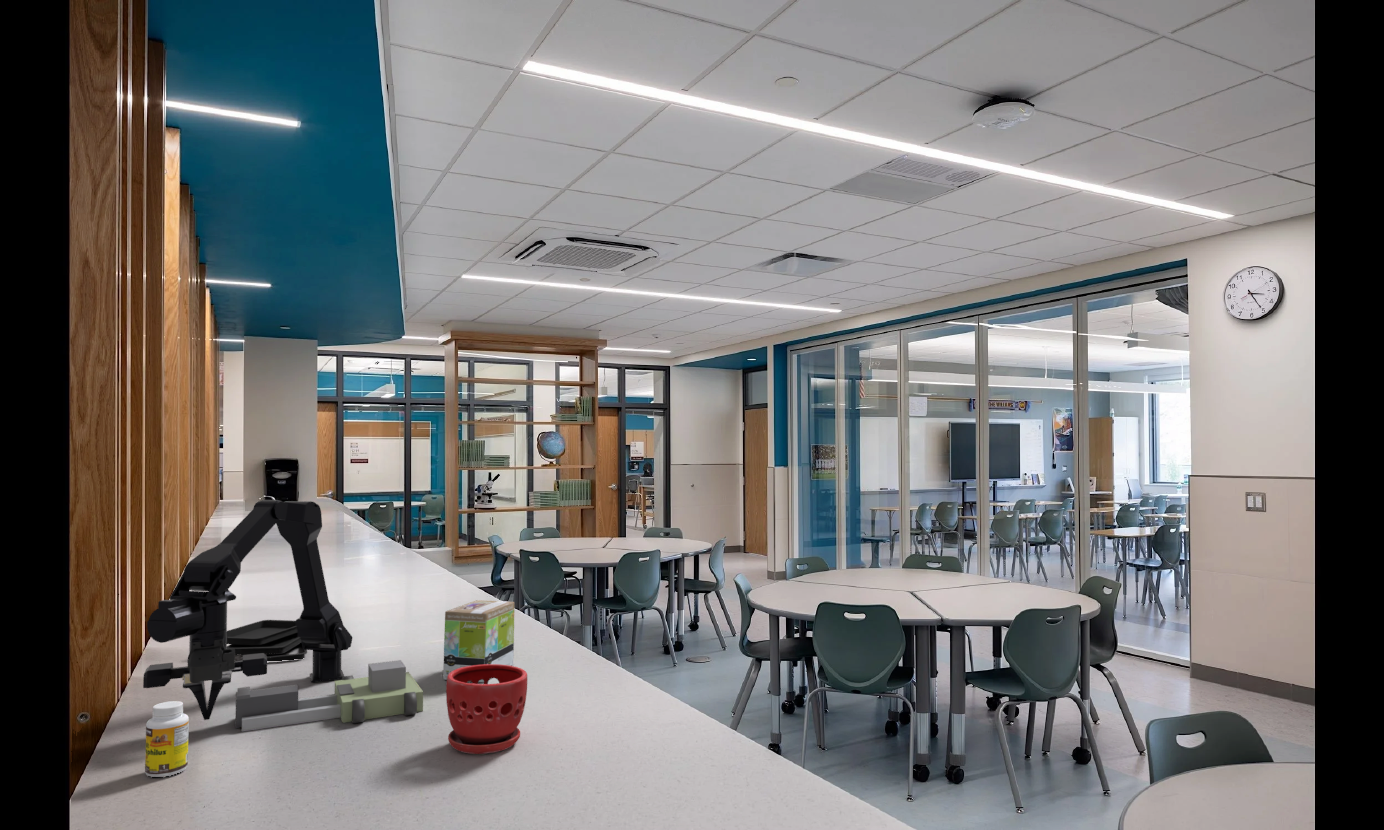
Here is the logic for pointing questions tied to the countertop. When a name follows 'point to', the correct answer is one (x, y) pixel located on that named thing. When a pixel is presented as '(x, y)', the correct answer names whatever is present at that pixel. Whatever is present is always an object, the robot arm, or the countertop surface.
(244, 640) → the tray
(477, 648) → the tea box
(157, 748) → the supplement bottle
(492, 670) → the plant pot
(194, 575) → the robot arm
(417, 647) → the countertop surface
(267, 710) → the dark grey stepped block
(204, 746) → the countertop surface
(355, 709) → the toy flatbed truck
